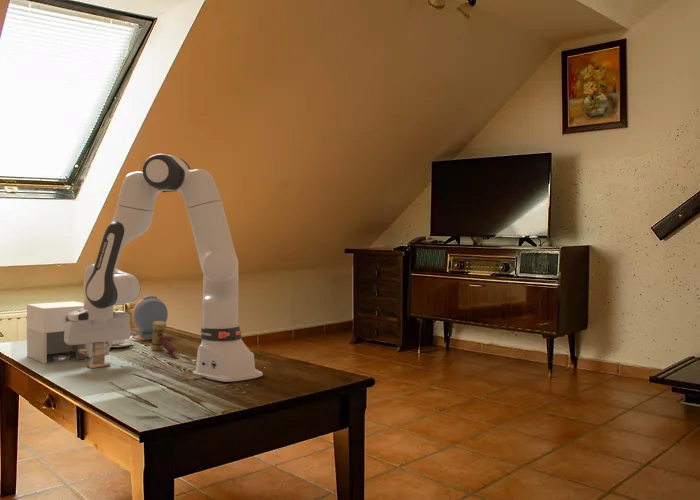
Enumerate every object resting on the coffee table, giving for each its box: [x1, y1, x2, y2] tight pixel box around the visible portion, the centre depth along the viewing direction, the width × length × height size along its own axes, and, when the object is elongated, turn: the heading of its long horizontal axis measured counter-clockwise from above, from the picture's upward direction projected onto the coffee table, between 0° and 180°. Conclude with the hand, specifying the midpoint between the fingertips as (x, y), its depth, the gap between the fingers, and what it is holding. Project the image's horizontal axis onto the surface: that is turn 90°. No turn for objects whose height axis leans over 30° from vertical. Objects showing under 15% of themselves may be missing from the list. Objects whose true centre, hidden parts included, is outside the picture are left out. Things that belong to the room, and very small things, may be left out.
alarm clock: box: [131, 295, 169, 341], centre depth 260 cm, size 14×10×18 cm
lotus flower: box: [105, 335, 136, 348], centre depth 239 cm, size 14×15×9 cm
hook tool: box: [75, 342, 111, 369], centre depth 209 cm, size 19×6×8 cm, turn 42°
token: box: [52, 354, 70, 362], centre depth 216 cm, size 5×5×1 cm
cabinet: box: [26, 301, 92, 365], centre depth 219 cm, size 19×16×18 cm
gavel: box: [150, 321, 179, 357], centre depth 227 cm, size 21×5×10 cm, turn 36°
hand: (98, 356), depth 204 cm, fingers closed on hook tool, 3 cm apart
